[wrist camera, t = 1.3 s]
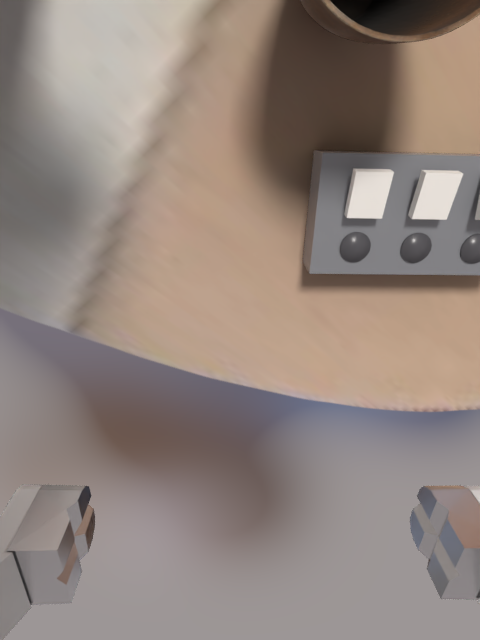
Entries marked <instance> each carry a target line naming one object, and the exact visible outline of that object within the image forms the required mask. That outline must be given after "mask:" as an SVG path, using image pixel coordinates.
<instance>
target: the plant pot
mask: <svg viewBox="0 0 480 640" xmlns="http://www.w3.org/2000/svg"><path fill="white" fill-rule="evenodd" d="M300 1H301V3H302V5H303V6H304V8H305V9H306V11H307V12H308V14H309V15H310V16H311V17H312V18H313V19H314V20H315V21H316V22H317V23H318V24H319V25H320V26H322V27H323V28H325V29H326V30H328V31H329V32H331V33H333V34H335V35H337V36H340V37H343V38H346V39H350V40H354V41H358V42H364V43H377V44H391V43H406V42H416V41H423V40H427V39H432V38H435V37H438V36H441V35H444V34H446V33H449V32H451V31H453V30H455V29H457V28H459V27H461V26H462V25H464V24H466V23H467V22H469V21H471V20H472V19H474V18H475V17H477V16H478V15H480V0H300Z"/></svg>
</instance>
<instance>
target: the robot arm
mask: <svg viewBox="0 0 480 640" xmlns="http://www.w3.org/2000/svg"><path fill="white" fill-rule="evenodd" d="M417 497H418V499H419V501H420V504H418V505H417V506H416V507H415V508H413V510H412V514H411V517H410V525H411V533H412V536H413V540H414V542H415V544H416V546H417V548H418V550H419V551H420V552H421V553H422V554H423V555H424V556H426V557H427V558H428V559H429V561H428V566H427V570H428V572H429V575H430V577H431V579H432V581H433V583H434V585H435V587H436V590H437V592H438V594H439V596H440V598H441V599H466V600H478V603H479V604H480V486H423V487H422V488H421V489H420V490H419V493H418V495H417ZM90 498H91V493H90V489H89V486H71V485H68V486H67V485H24V484H23V485H21V486H20V487H19V488H18V489H17V490H16V491H15V493H14V495H13V496H12V498H11V499H10V501H9V503H8V504H7V506H6V508H5V509H4V511H3V513H2V514H1V516H0V640H3V639H4V638H5V636H7V634H8V633H9V632H10V631H11V630H12V629H13V628H14V627H15V625H16V624H17V623H18V622H19V621H20V620H21V619H22V618H23V616H24V615H25V614H26V613H27V612H28V611H29V610H30V609H31V605H39V604H40V605H41V604H65V603H72V600H73V597H74V594H75V590H76V588H77V585H78V582H79V579H80V576H81V573H82V569H81V565H80V560H81V559H82V558H83V557H84V556H85V555H86V554H87V553H88V552H89V549H90V546H91V542H92V539H93V533H94V528H95V514H94V509H93V508H92V507H91V506H90V505H88V504H89V501H90Z"/></svg>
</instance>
